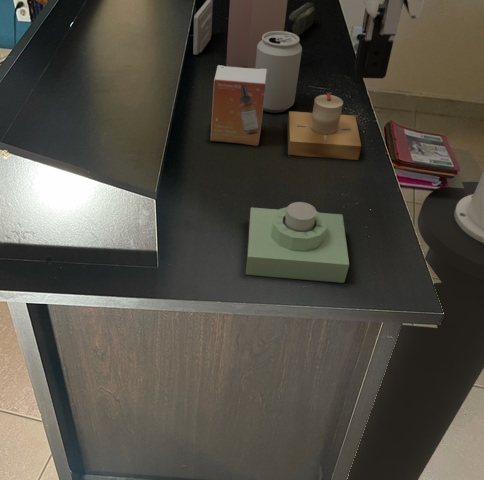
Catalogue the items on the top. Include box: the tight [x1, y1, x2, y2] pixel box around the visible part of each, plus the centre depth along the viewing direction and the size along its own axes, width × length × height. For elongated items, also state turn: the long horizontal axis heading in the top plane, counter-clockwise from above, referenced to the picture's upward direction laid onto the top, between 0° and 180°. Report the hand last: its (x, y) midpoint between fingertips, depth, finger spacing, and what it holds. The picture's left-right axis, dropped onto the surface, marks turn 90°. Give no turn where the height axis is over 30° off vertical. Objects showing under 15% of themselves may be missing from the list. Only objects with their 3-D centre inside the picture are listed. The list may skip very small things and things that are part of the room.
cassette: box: [192, 0, 214, 56], centre depth 120 cm, size 12×2×8 cm, turn 164°
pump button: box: [285, 201, 317, 232], centre depth 70 cm, size 4×4×2 cm
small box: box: [209, 64, 267, 147], centre depth 92 cm, size 8×6×10 cm
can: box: [255, 30, 303, 114], centre depth 99 cm, size 8×8×12 cm
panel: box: [286, 110, 362, 161], centre depth 94 cm, size 11×10×3 cm
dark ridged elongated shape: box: [285, 2, 316, 37], centre depth 127 cm, size 5×3×15 cm
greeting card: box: [225, 0, 289, 69], centre depth 109 cm, size 11×7×15 cm, turn 105°
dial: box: [310, 92, 344, 134], centre depth 91 cm, size 4×4×5 cm
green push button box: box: [245, 206, 350, 284], centre depth 72 cm, size 12×10×5 cm
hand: (369, 74), depth 63 cm, fingers closed
